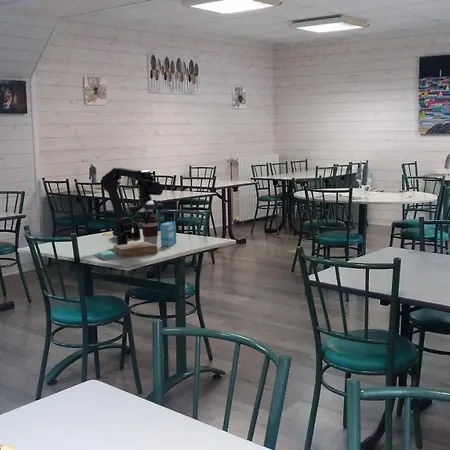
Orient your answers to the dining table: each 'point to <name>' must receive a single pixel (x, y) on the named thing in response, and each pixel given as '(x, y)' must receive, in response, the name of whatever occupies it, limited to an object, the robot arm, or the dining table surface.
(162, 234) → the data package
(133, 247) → the brown flat block
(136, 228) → the letter holder
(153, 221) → the coffee cup
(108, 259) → the mat
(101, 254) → the teal foam pad
